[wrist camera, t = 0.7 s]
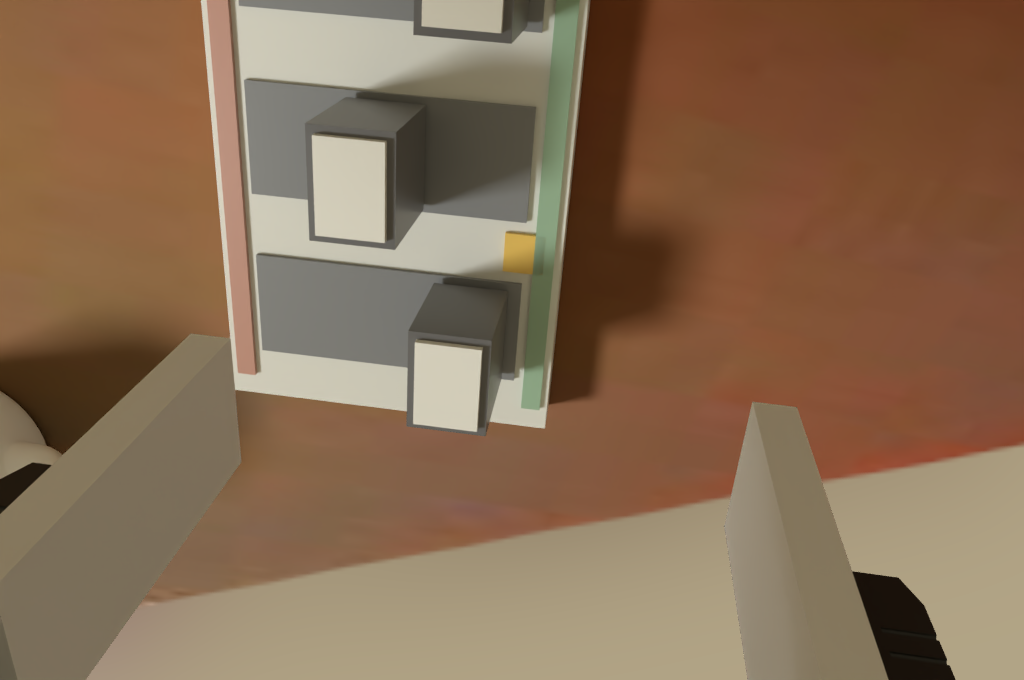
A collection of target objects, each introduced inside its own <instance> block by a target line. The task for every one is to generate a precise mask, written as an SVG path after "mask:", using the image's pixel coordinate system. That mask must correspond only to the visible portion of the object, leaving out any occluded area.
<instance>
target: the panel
mask: <svg viewBox="0 0 1024 680" xmlns="http://www.w3.org/2000/svg"><path fill="white" fill-rule="evenodd" d="M201 4H202V16H203V27H204V39H205V50H206V62H207V73H208V85H209V97H210V108H211V120H212V131H213V143H214V154H215V166H216V177H217V189H218V200H219V212H220V224H221V235H222V247H223V258H224V270H225V281H226V293H227V304H228V316H229V328H230V338H231V349H232V360H233V372H234V383H235V390H242V391H250V392H258V393H266V394H274V395H282V396H290V397H298V398H306V399H314V400H322V401H330V402H338V403H346V404H354V405H362V406H370V407H378V408H386V409H394V410H401V411H407V372H408V330H409V328H410V327H411V325H412V323H413V321H414V319H415V317H416V315H417V313H418V312H419V310H420V308H421V306H422V304H423V302H424V300H425V299H426V297H427V295H428V293H429V291H430V289H431V287H432V285H433V284H434V283H441V284H450V285H458V286H467V287H476V288H485V289H494V290H502V291H508V297H507V311H506V324H505V338H504V351H503V365H502V379H501V382H500V386H499V389H498V393H497V397H496V400H495V404H494V407H493V411H492V414H491V418H490V422H497V423H505V424H513V425H521V426H529V427H537V428H545V424H546V418H547V412H548V406H549V397H550V387H551V377H552V368H553V358H554V348H555V339H556V329H557V319H558V310H559V300H560V290H561V281H562V271H563V261H564V252H565V242H566V232H567V223H568V213H569V203H570V194H571V184H572V174H573V165H574V155H575V145H576V136H577V126H578V116H579V107H580V97H581V87H582V78H583V68H584V58H585V48H586V39H587V29H588V19H589V10H590V0H529V11H528V25H527V28H526V29H525V30H524V31H523V32H522V33H521V34H520V35H519V36H518V37H517V38H516V39H515V40H514V42H513V43H512V44H508V43H497V42H486V41H475V40H464V39H453V38H442V37H431V36H420V35H413V24H414V0H201ZM345 97H351V98H361V99H372V100H382V101H392V102H403V103H413V104H423V105H426V127H425V168H424V209H423V211H422V213H421V214H420V215H419V217H418V218H417V220H416V221H415V223H414V224H413V225H412V227H411V228H410V230H409V231H408V232H407V234H406V235H405V237H404V238H403V240H402V241H401V242H400V244H399V245H398V247H397V248H396V250H391V249H382V248H372V247H363V246H354V245H345V244H336V243H327V242H318V241H309V219H308V193H307V167H306V140H305V123H306V122H308V121H309V120H311V119H312V118H314V117H315V116H317V115H319V114H320V113H322V112H323V111H325V110H326V109H328V108H330V107H331V106H333V105H334V104H336V103H337V102H339V101H341V100H342V99H344V98H345Z"/></svg>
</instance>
